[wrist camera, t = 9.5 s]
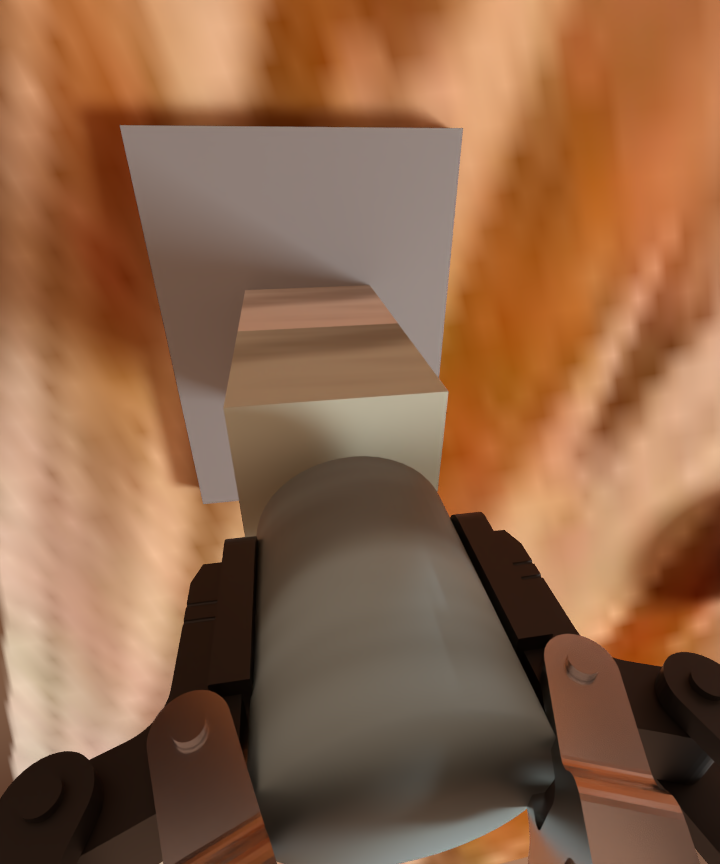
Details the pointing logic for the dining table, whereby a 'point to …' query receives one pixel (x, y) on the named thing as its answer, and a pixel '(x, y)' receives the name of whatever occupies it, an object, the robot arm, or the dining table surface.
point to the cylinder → (381, 676)
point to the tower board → (286, 240)
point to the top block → (328, 405)
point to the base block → (312, 308)
